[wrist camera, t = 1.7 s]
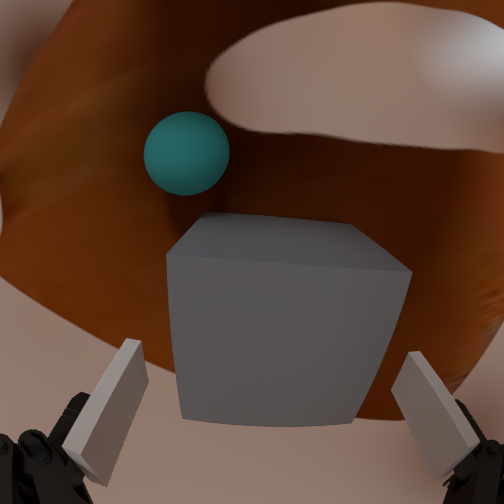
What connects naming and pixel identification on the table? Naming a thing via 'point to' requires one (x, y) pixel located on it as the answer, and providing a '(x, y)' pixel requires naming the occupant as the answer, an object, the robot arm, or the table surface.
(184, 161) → the ball
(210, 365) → the dark grey block
